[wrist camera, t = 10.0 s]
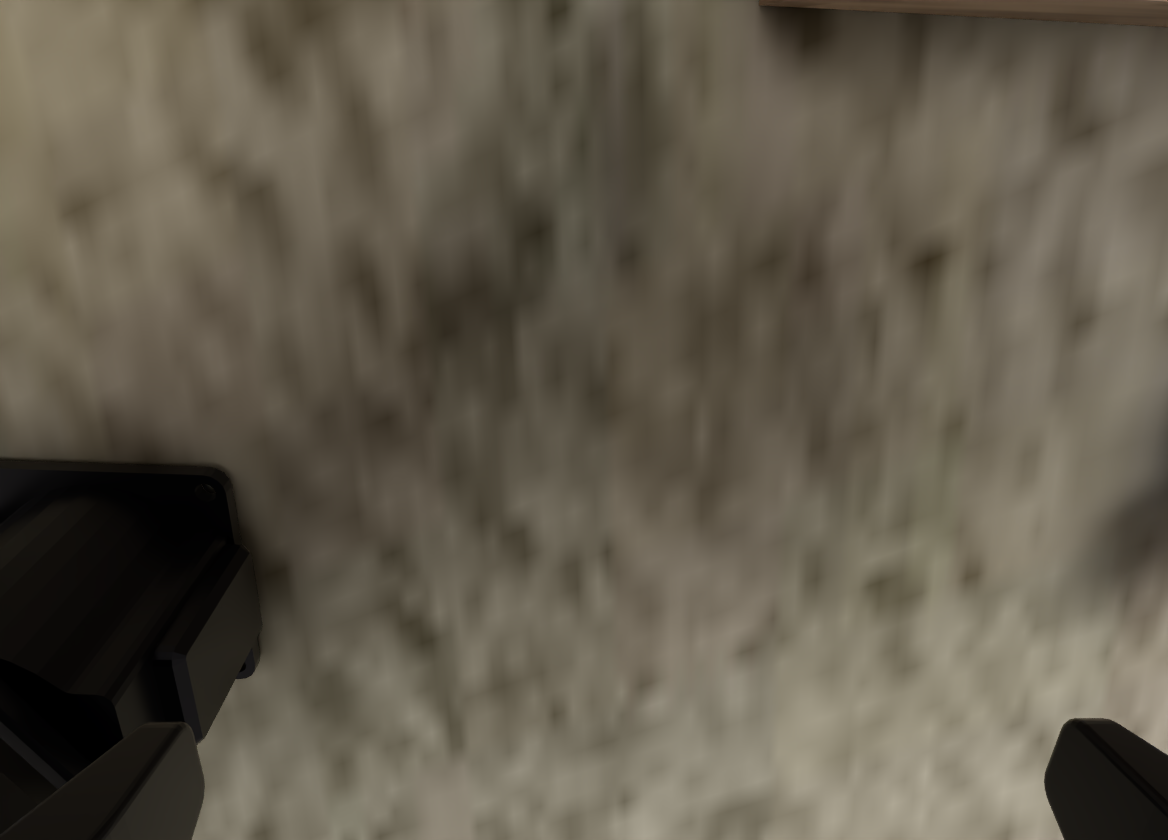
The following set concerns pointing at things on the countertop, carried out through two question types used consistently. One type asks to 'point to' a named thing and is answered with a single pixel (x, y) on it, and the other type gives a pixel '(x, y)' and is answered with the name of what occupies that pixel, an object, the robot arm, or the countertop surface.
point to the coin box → (1009, 9)
